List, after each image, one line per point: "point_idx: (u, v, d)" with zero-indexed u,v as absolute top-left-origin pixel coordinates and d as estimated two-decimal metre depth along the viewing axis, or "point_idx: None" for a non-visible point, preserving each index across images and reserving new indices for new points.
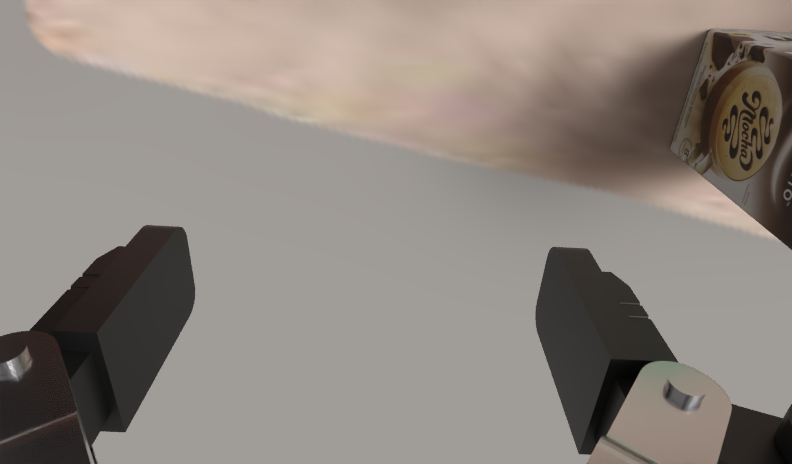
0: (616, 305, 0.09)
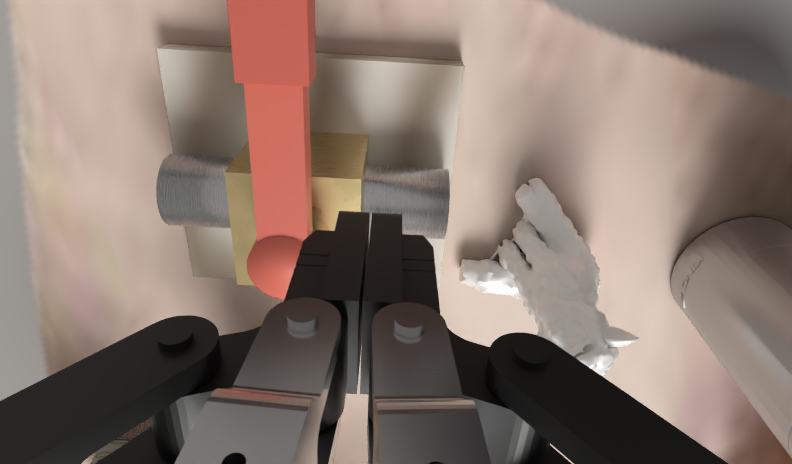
0: (397, 259, 0.10)
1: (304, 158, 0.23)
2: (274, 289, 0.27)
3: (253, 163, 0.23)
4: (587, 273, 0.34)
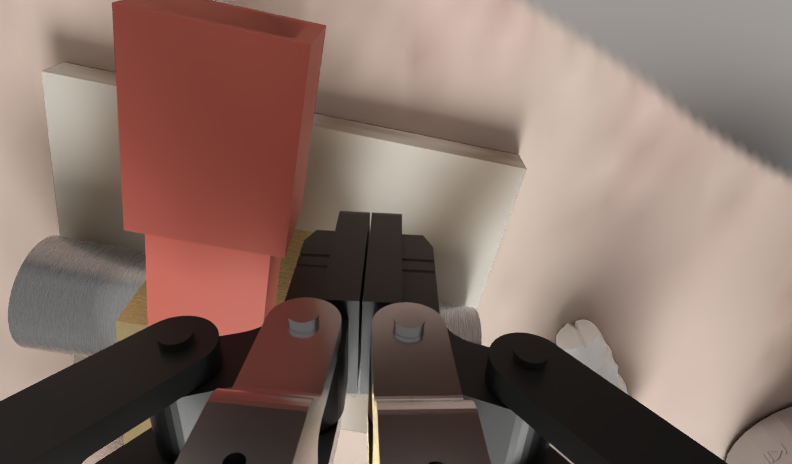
0: (397, 259, 0.10)
1: None
2: None
3: None
4: None
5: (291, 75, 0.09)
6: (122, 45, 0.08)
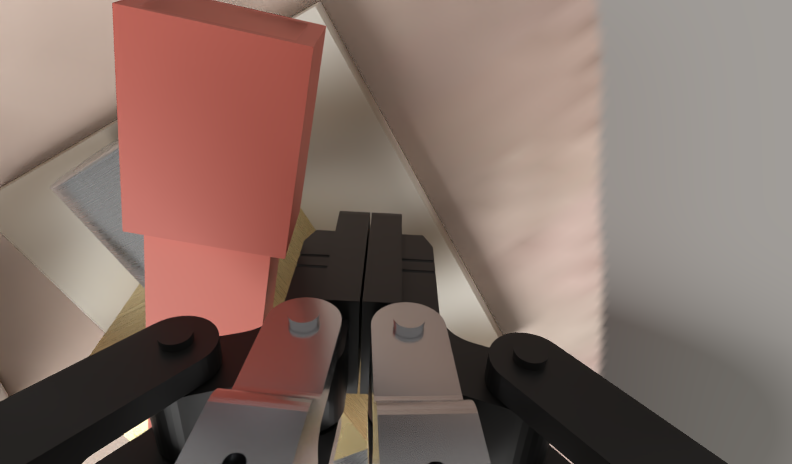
0: (397, 259, 0.10)
1: None
2: None
3: None
4: None
5: (293, 77, 0.08)
6: (122, 45, 0.08)
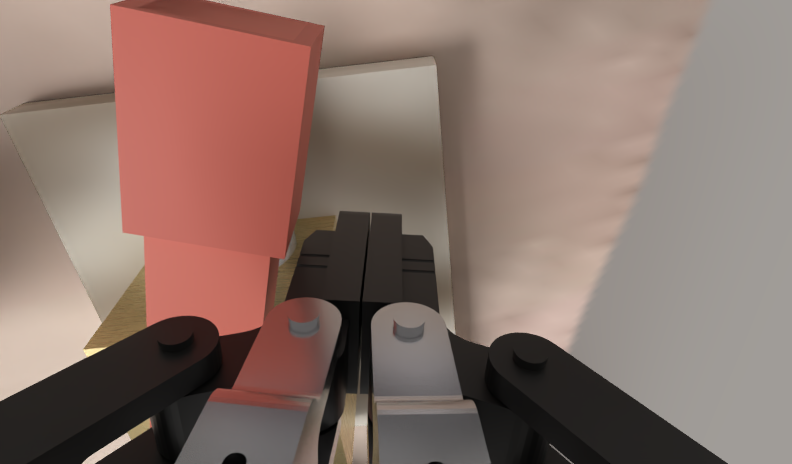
0: (397, 259, 0.10)
1: None
2: None
3: None
4: None
5: (291, 77, 0.08)
6: (120, 47, 0.08)
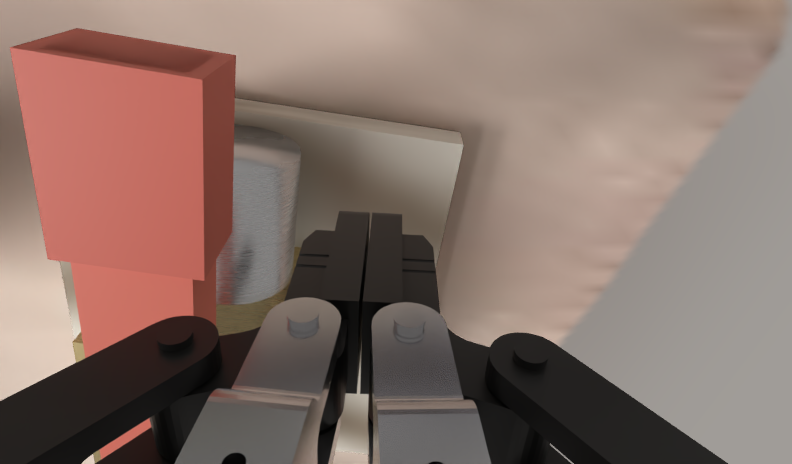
0: (397, 259, 0.10)
1: None
2: None
3: None
4: None
5: (187, 108, 0.09)
6: (24, 86, 0.09)
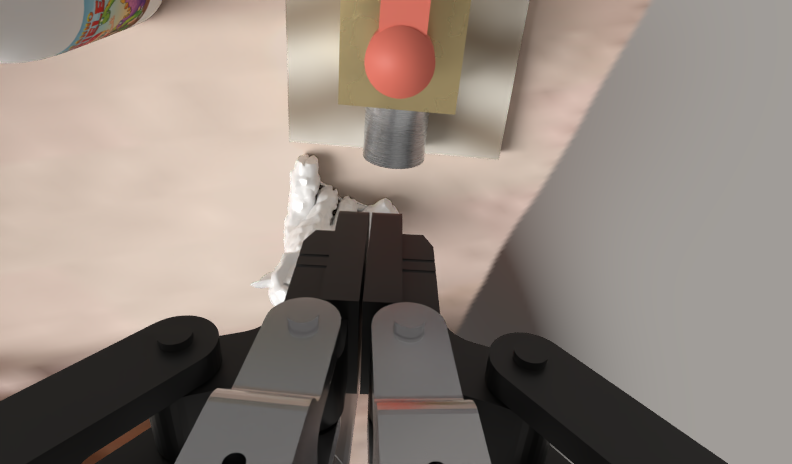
0: (397, 259, 0.10)
1: None
2: (387, 86, 0.28)
3: None
4: None
5: None
6: None
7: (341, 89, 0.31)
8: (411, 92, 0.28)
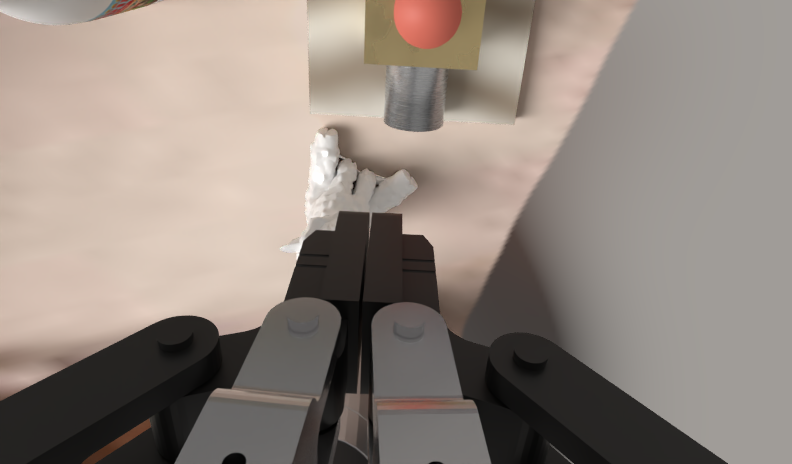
0: (397, 259, 0.10)
1: None
2: (415, 36, 0.29)
3: None
4: None
5: None
6: None
7: (367, 48, 0.32)
8: (439, 42, 0.29)
